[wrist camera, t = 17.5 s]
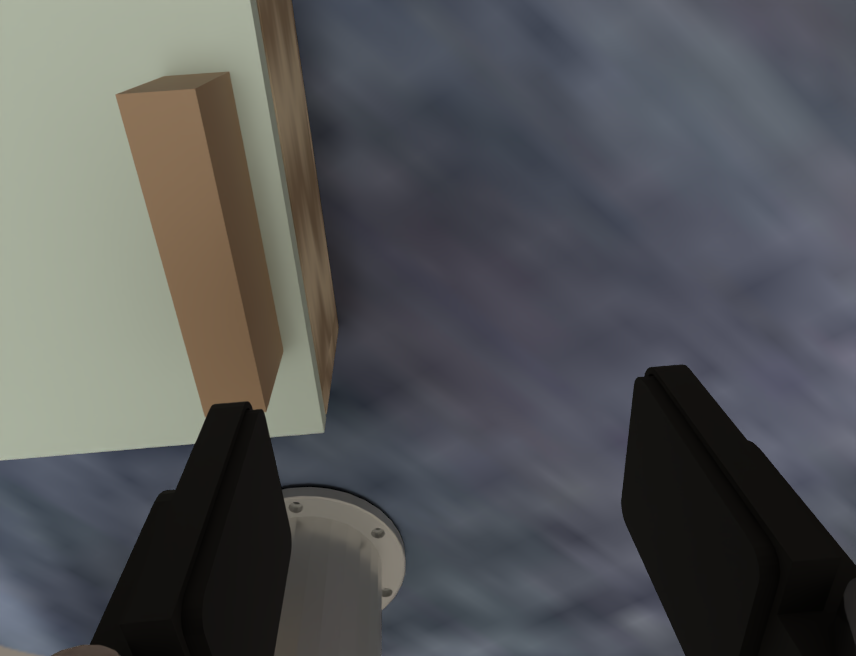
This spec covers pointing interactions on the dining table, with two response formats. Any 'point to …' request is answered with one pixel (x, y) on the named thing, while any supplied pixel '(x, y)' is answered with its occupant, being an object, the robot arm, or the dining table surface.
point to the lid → (143, 229)
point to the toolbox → (301, 178)
